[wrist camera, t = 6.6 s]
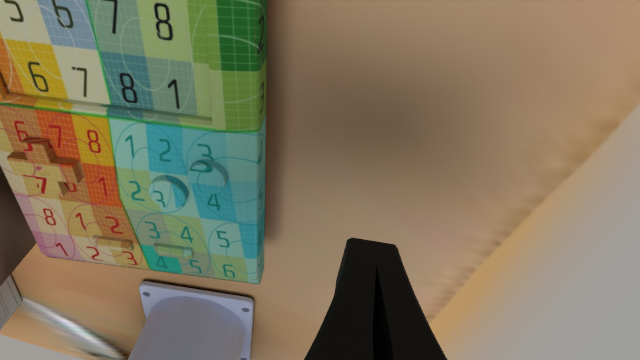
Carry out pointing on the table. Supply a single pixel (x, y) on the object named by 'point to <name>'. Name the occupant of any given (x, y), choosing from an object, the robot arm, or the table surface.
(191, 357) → the robot arm
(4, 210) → the shelf corner
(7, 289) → the supplement box
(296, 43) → the table surface
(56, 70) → the puzzle game
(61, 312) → the table surface
